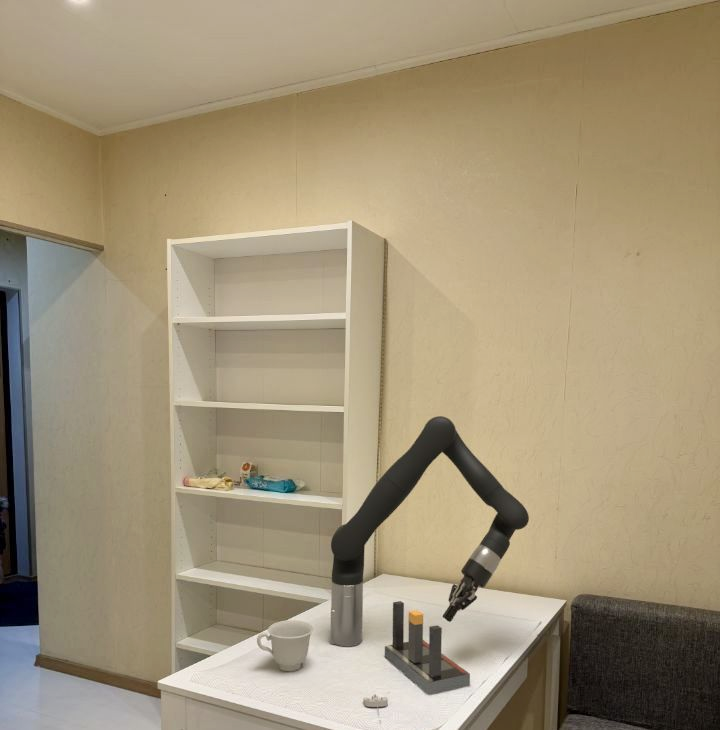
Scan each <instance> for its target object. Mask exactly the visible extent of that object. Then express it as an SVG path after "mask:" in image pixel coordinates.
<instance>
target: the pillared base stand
mask: <svg viewBox="0 0 720 730" xmlns="http://www.w3.org/2000/svg"><path fill="white" fill-rule="evenodd" d="M404 615H405V603H404V602H403V601H401V600H400V601H393V602H392V644H389V645H385V646H384V658H385V659H386V660H387V661H388V662H390V663H391V665H393V666H394V667H395V668H396V669H398V670H399V671H400V672H401V673H402V674H403V675H405V676H406V677H407V678H408V679H409V680H410V681H412V682H413V683H414V684H415V685H416V686H417V687H418V688H419V689H421V690H422V691H423V692H424V693H425V694H427V695H428V696H431V695H436V694H440V693H445V692H449V691H453V690H457V689H463V688H465V687H467V688H468V687H470V686H471V673H470V672H468V671H467V670H466V669H464V668H463V667H461V665H459V664H457V663H456V662H454V661H453V660H452V659H450V658H449V657H447V656H446V655H445V654H443V653H442V640H443V639H442V637H443V635H442V634H443V633H442V630H443V629H442V627H441V626H440V625H431V626H429V628H428V629H429V632H428V633H429V635H428V636H429V637H428V642H429V643H428V642H427V641H426V640H424V639H423V661H422V662H418V663H414V662H412V661H411V660H410V659H409V658H408V641H405V642H404V635H405V634H404V633H405V632H404V628H405V626H404V625H405V624H404V620H405V619H404V618H405V616H404Z"/></svg>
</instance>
